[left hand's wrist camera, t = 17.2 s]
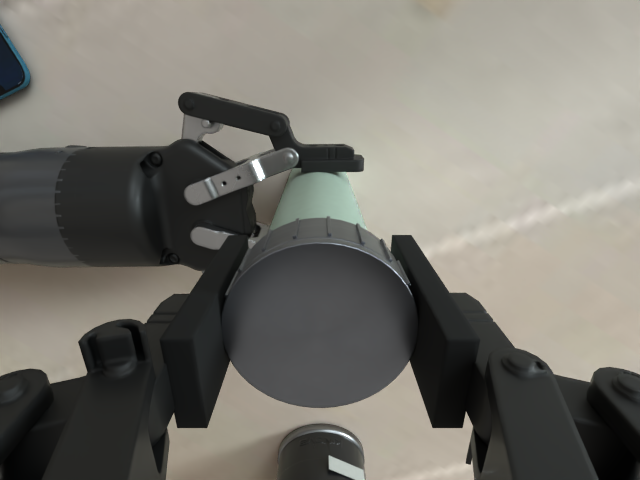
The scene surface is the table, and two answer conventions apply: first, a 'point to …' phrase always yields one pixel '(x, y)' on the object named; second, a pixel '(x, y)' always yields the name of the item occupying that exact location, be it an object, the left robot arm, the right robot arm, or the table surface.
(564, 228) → the table surface
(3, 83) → the smartphone
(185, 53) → the table surface
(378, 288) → the lid
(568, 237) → the table surface
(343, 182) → the mint green bottle
